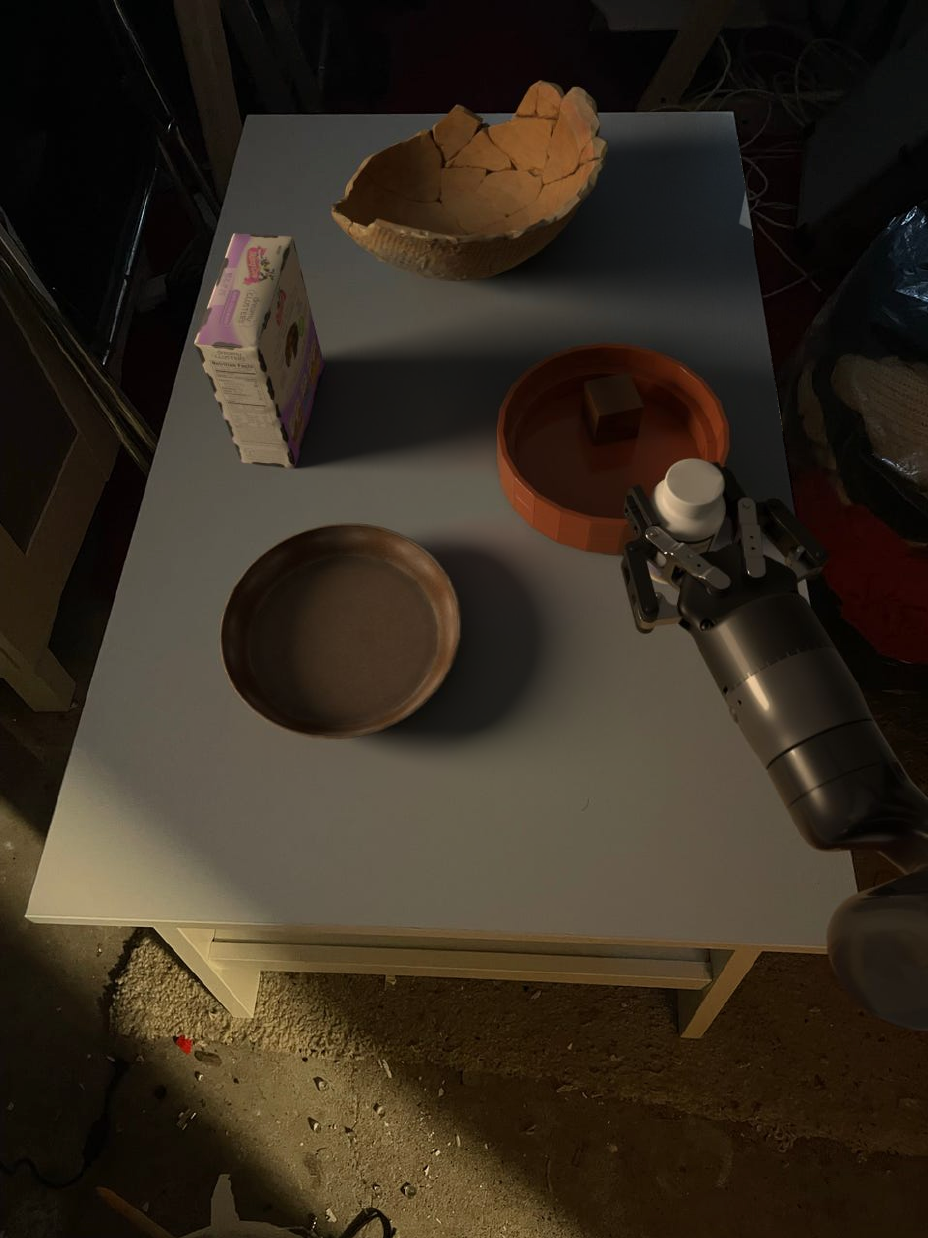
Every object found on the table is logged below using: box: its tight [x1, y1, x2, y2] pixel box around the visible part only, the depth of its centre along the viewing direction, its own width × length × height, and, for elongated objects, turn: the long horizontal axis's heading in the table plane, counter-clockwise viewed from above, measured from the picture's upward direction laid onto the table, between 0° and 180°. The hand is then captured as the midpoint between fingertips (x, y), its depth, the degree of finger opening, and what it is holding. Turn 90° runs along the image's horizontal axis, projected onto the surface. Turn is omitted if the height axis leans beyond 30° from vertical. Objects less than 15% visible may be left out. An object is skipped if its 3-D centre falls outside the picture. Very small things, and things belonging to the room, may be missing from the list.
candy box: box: [193, 232, 325, 469], centre depth 84 cm, size 14×6×16 cm, turn 172°
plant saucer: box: [219, 522, 462, 740], centre depth 77 cm, size 21×21×3 cm
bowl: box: [496, 342, 731, 555], centre depth 85 cm, size 21×21×6 cm
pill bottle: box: [647, 459, 726, 586], centre depth 65 cm, size 5×5×10 cm
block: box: [581, 372, 644, 446], centre depth 87 cm, size 4×4×4 cm
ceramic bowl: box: [331, 79, 610, 282], centre depth 97 cm, size 30×27×15 cm
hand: (670, 481), depth 64 cm, fingers closed on pill bottle, 5 cm apart
